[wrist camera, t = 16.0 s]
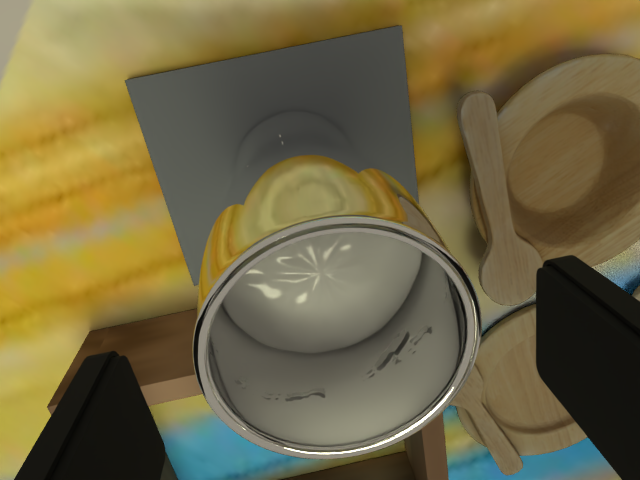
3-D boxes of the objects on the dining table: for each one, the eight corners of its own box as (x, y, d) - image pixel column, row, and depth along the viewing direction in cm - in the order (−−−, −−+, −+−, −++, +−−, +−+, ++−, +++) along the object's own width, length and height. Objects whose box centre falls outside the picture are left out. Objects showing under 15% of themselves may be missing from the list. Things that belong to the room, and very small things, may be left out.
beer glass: (386, 137, 24) (552, 279, 10) (326, 251, 26) (398, 491, 13) (259, 75, 22) (257, 150, 8) (206, 204, 24) (138, 427, 11)
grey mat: (398, 25, 22) (401, 25, 22) (418, 232, 27) (422, 237, 27) (128, 79, 22) (124, 80, 22) (195, 280, 27) (194, 285, 26)
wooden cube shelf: (399, 264, 28) (434, 321, 22) (423, 459, 35) (454, 539, 29) (89, 331, 27) (47, 407, 22) (175, 515, 34) (159, 608, 29)
